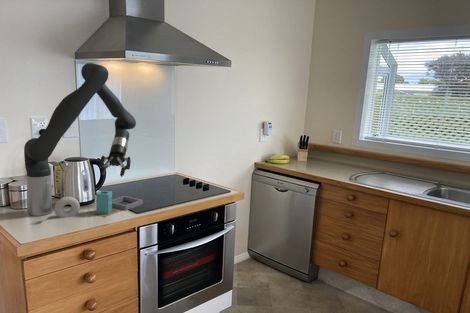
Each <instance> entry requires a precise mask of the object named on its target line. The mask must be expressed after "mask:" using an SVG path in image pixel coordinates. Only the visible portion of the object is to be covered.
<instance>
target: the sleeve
mask: <svg viewBox="0 0 470 313" xmlns="http://www.w3.org/2000/svg"><path fill="white" fill-rule="evenodd" d="M95 196H96V197H95V198H96V203H95V204H96V209H95V210H96V214H109V213H110V212H111V211H112V209H113V207H112V200H113V191H112V190H111V191H110V190H99V192H97V193H96V195H95Z"/></svg>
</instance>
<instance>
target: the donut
mask: <svg viewBox="0 0 470 313" xmlns="http://www.w3.org/2000/svg"><path fill="white" fill-rule="evenodd" d="M67 205H70V206H71V208H70V209H69V210H67V211H65V209H64V207H65V206H67ZM80 209H81V206H80V202H79V201H78V199H76V198H75V197H73V196H64V197H61V198H60V199H58V200H57V201H56V202H55V204H54V209H53V210H54V213H55V215H56V217H58V218H70V217H75V216H77V215H78V214H79V212H80Z"/></svg>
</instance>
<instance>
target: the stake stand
mask: <svg viewBox="0 0 470 313" xmlns="http://www.w3.org/2000/svg"><path fill="white" fill-rule="evenodd" d="M120 212H121V210H119V209H115V208H114V209H113V208H112V211H111V212H110V213H109V214H96V209H95V210H92V211H89V212H88V214H90V215H94V216H97V217H102V218H106V217H109V216H111V215H114V214H115V215H116V214H117V213H120Z"/></svg>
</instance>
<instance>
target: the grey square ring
mask: <svg viewBox="0 0 470 313" xmlns="http://www.w3.org/2000/svg"><path fill="white" fill-rule="evenodd" d="M125 201H126V202H130V203H128V204H121V202H125ZM141 205H144V199H139V198H135V197H131V196H127V195H122V196H120V197H117V198H112V209H113V208H114V209H117V210H122V211H128V210H131V209H133V208H136V207H138V206H141Z"/></svg>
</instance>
